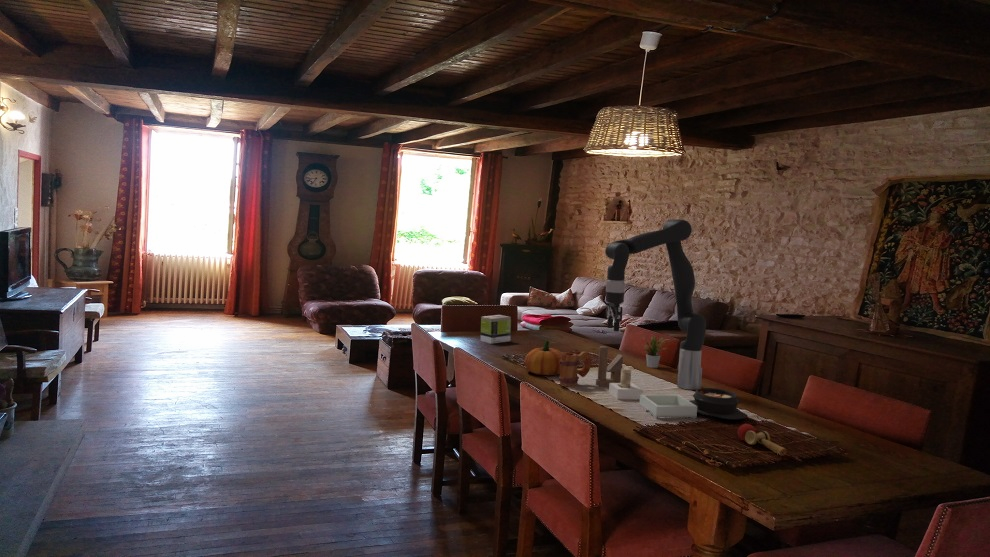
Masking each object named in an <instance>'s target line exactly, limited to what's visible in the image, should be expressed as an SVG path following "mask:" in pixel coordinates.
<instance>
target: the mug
mask: <svg viewBox="0 0 990 557" xmlns="http://www.w3.org/2000/svg"><path fill="white" fill-rule="evenodd" d="M580 361H582V362H583V366H582V368H581V369H578V365H579V363H580ZM559 363H560V364H561V373H560V374H559V377H558V379H557V381H558V382H559V384H560V386H562V387H565V388H569V387H574V386H577V385H578V381H579V379H580V377H582V378H584V377H586V376H587V375H588V374H589V372H590V369H591V368H592V367H591V366H592V359H591V356H590V354H589V353H588V352H587V351H584V350H583V351H581V352H580V353H579V354H576V353H573V352H563V353H562V359H561V360H560V362H559ZM579 376H580V377H579Z"/></svg>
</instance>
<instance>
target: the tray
mask: <svg viewBox="0 0 990 557" xmlns="http://www.w3.org/2000/svg"><path fill="white" fill-rule="evenodd" d="M689 401H690V400H688V399H686V398H685V397H683V396H681V395H680V394H641V395H640V399H639V405H640V406H642V407H643V408H645V409H646V412H647V411H648V412H649V413H651V414H652V415H653V416H655V417H666V418H665V419H689V418H688V417H696V418H695V419H697V417H698V416H697V415H698V414H697V413H698V412H697V406H696V405H694V404H693V403H691V402H689ZM648 412H647V413H648ZM649 413H648V414H649ZM651 414H650V415H651ZM652 415H651V416H652ZM653 416H652V417H653ZM655 417H654V418H655ZM667 417H669V418H667ZM670 417H671V418H670ZM673 417H674V418H673ZM676 417H677V418H676ZM679 417H681V418H679ZM682 417H684V418H682ZM685 417H687V418H685Z"/></svg>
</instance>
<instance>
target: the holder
mask: <svg viewBox="0 0 990 557" xmlns="http://www.w3.org/2000/svg"><path fill="white" fill-rule="evenodd" d="M608 394H610V395H611V396H612V397H613V398H615V399H616V400H640V395H642V388H640V387H639V386H637V385H636V384H635V383H633V382H630V388H621V387H620V383H609V386H608Z"/></svg>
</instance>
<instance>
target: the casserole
mask: <svg viewBox="0 0 990 557" xmlns="http://www.w3.org/2000/svg"><path fill="white" fill-rule="evenodd" d="M692 397H693V400H688V401H689V402H691V403H693V404H694V405H696V406H697V413H698V414H700V415H703V416H705V417H708V416H709V418H713V417H714V419H724V420H734V421H735V420H743V419H746V418H748V414H747V413H745V412H743V411H741V410H740V409H738V408H737V407H738V404H740V400H739V398H738V395H737V393H735V392H733V391H729V390H727V389H723V388H715V387H703V388H702V387H701V389H695V392H694V393H693V394H692Z"/></svg>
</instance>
